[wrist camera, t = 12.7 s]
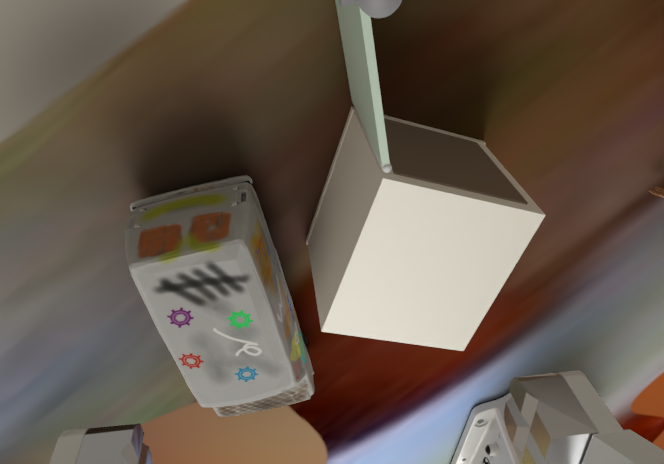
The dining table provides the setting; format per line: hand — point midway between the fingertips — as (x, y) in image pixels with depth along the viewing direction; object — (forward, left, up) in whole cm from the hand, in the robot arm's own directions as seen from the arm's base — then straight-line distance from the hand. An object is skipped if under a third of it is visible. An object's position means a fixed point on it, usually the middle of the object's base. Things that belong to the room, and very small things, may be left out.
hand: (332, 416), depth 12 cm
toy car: (-24, -2, -33) cm, 41 cm away
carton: (-10, -13, -33) cm, 37 cm away
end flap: (+2, -4, -33) cm, 33 cm away
